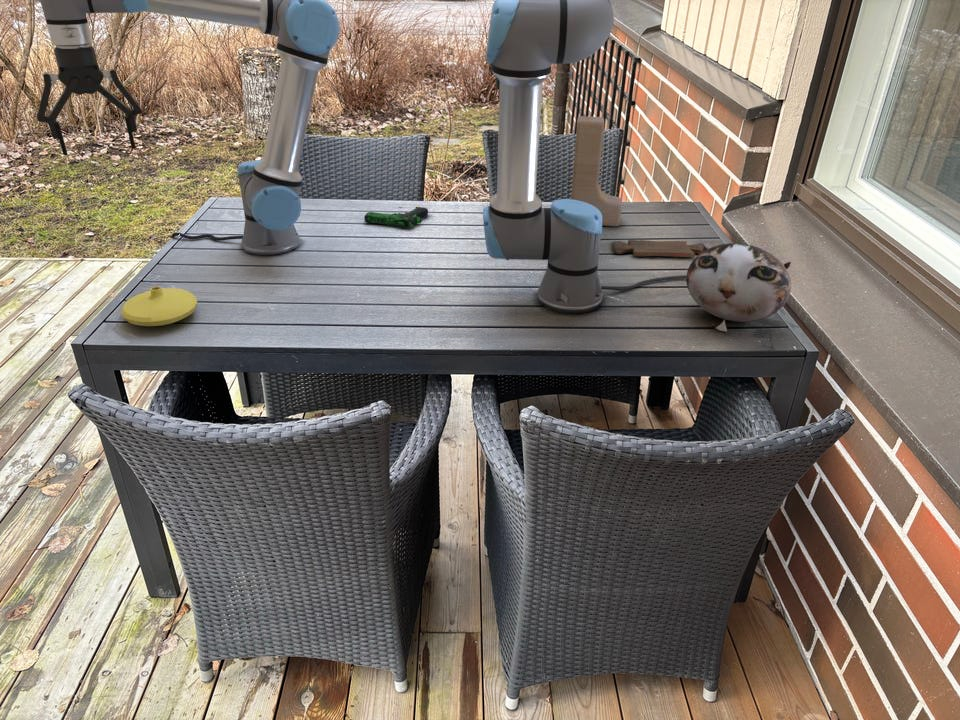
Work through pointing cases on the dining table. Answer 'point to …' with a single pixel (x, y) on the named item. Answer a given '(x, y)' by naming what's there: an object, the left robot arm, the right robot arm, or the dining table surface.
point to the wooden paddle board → (657, 248)
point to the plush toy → (738, 282)
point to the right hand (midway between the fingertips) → (514, 101)
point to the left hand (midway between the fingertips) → (100, 150)
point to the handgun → (398, 218)
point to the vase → (159, 306)
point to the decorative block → (592, 171)
